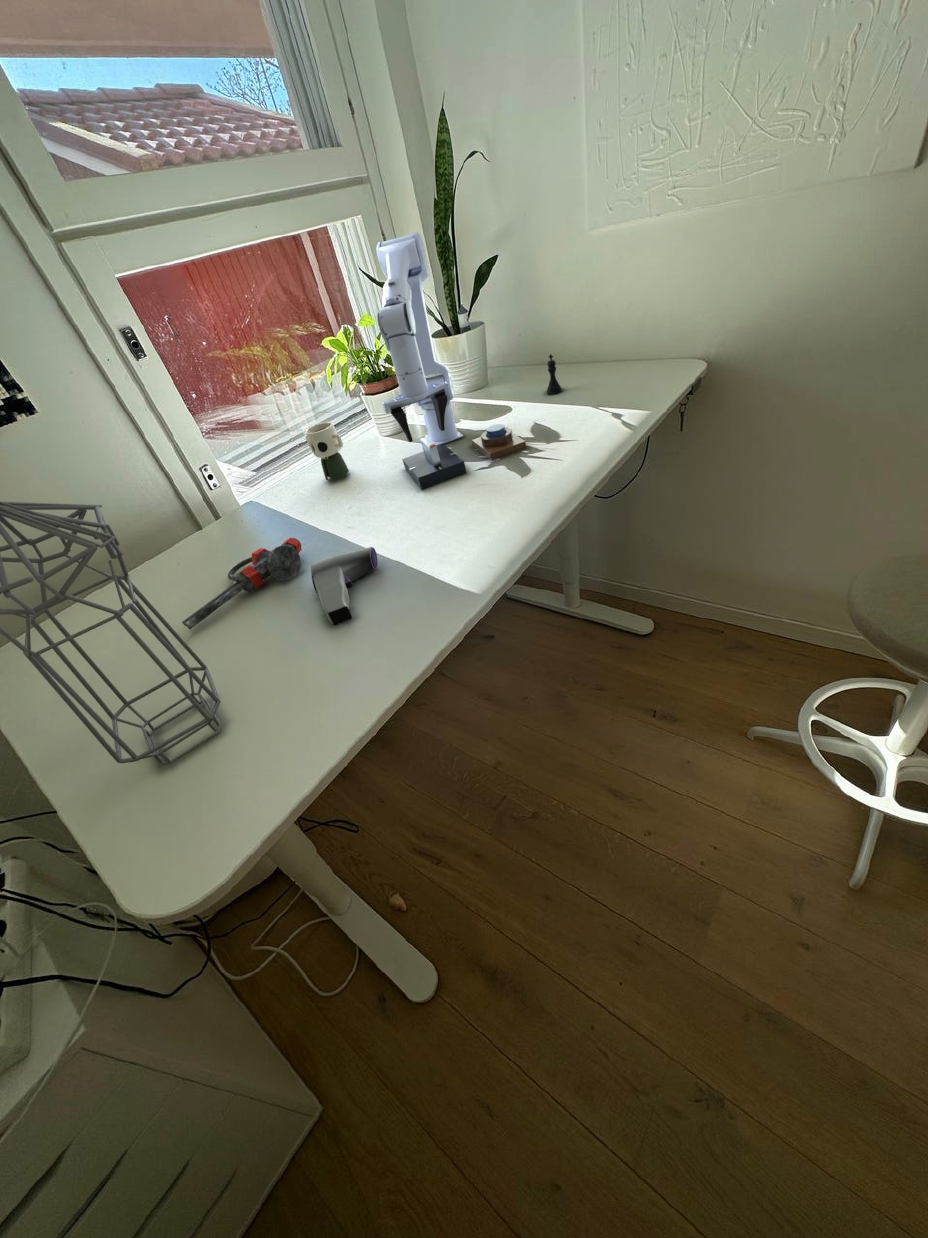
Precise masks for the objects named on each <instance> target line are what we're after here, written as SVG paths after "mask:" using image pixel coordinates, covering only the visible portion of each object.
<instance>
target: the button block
mask: <svg viewBox="0 0 928 1238" xmlns="http://www.w3.org/2000/svg"><path fill="white" fill-rule="evenodd" d="M505 432H506V433H505V434H504V435H502V436H499V437H494V438H489V437H487V432H486V431H484V432H483V433H481V435H480V436H479V437H476V438H474V439H471V444H472V447H473V448H474V449H476V450H477V451H478V452H479V453H481V454H482V455H483V456H485V457H486V458H487V459H488V460H490V461H491V462H492V461H495V460H497V459H501V458H503V457H506V456H508V455H512V454H515V453H517V452H520V451H522V450H526V449H527V443H526V441H525V440H524V439H522V438H521V437H519V436H518V435H516V434H514V433H513V429H512V428H511V427H508V426H505Z"/></svg>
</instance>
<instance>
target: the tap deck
mask: <svg viewBox="0 0 928 1238" xmlns="http://www.w3.org/2000/svg"><path fill="white" fill-rule="evenodd" d="M437 450H438V454H439V458H440V462H441V465H440V466H437V467H434V466H433V465H432V464H431V463H430V462H429V461H428V460H427V459H426V458H425V455H424V451H421V452H419V453H416V454H413V455H410V456H407V457H404V458H402V463H403V466H404V467H403V468H404V470H405V472H406V473H407V475H409V476H410V478H411V480H412V481H414V483H415V484H416V485H417V486H418V487H419V489H420V490H421V491H424V490H426V489H430V488H432V487H434V486H437V485H440V484H442V483H445V482H448V481H451V480H453V479H457V478H459V477H462V476H464V475H467V474H468V473H467V469H466V465H465V461H464V460H463V459H462V458H461V457H460V456H459V455H457V451H456V452H454V451H453V450H452V449H450V448H449V446H447V445H446V443H444V444H441V445H439V446H437Z"/></svg>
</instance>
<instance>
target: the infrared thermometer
mask: <svg viewBox="0 0 928 1238" xmlns="http://www.w3.org/2000/svg"><path fill="white" fill-rule="evenodd" d="M378 561H379V559H378V555H377V551H376V549H375V547H374V546H369V547H364V548H361V549H357V550H352V551H348V552H343V553H340V554H336V555H333V556H331V557H328V558H325V559H322V560H319V561H317V562H314V563H312V564H311V567H310V574H311V576H310V577H311V580H312V581H311V582H312V584H313V588H314V591H315V592H316V594H317V595H318V598H319V602H320V606H321V607H322V609H323V612H324V614H325V615H326V618H327V619H328V621H329V623H331V625H333V626H338V625H340V624H342V623H345V622H348V621H350V620H352V619H353V615H352V613H351V611H350V602H351V601H350V600H351V599H350V596H349V595H350V594H349V589H351V588H353V586H354V584H353V582H354V581H356V580H357V579H359V578H361V577H363V576H365V575H367V574H368V573H370V572H373V571H375V570H377V568H378V563H379V562H378Z"/></svg>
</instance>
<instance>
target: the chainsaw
mask: <svg viewBox="0 0 928 1238" xmlns="http://www.w3.org/2000/svg"><path fill="white" fill-rule="evenodd" d="M302 550H303V549H302V543H301V542H300V540H299V539H298V538H295V537H288V538H287V539H286V540H284V541H283V542H282V544H281V545H278V546H276V547H274V548H273V549H272V550H268V549H266V548H263V547H260V548H259V549H257V550H255V551H253V552H252V553H251V557H247V558H245V559H244V560H241V561H240V562H238V563H237V564H236V565H234V566H233V567H232V568H230V570H229V571H228V573H227V578H228V580H229V581H232V582H233V581H234V582H235V583H233V584H232V585H230V586H229V587H227V588H226V589H225V590H224V591H222V592H221V593H219V594H218V595H217V596H215V597H214V598H213V599H211V600H210V601H209V602H207V603H206V604H205V605H203V606H202V607H200V608H199V609H197V610H196V611H195V612H193V613H192V614H191V615H190V616H188V617H187V618H185V619H184V620H183V621H181V623H182V624H183V625H184V627H187V628H188V629H189V630H191V629H193V628H194V627H195V626H196V625H198V624H200V622H202V621H204V619H206V618H208V616H210V615H211V614H213V613H214V612H215V611H217V610H219V608H221V607H222V606H224V605H225V604H226V603H227V602H229V601H230V600H232V599H233V598H234V597H235V596H236V595H237V596H238V595H239V593H240V592H242V591H244V592H247V593H249V592H251V591H256V590H257V589H259V588H260V587H261V586H262V585H263V584H264V583H265V581H266V580H267V579H268V578H270V577H271V576H272V577H274V579H277V580H280V581H289V580H292V579H293V578H295V577H297V575H298V574H299V572H300V570H301V567H302V559H301V556H300V553H301V551H302ZM248 564H252V566H251V565H248ZM246 565H248V566H246ZM245 566H246V567H245ZM243 567H244V568H243ZM241 568H243V569H242V570H241ZM239 570H241V571H240V572H239V574H238V575H235V574H236V572H238V571H239Z"/></svg>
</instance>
